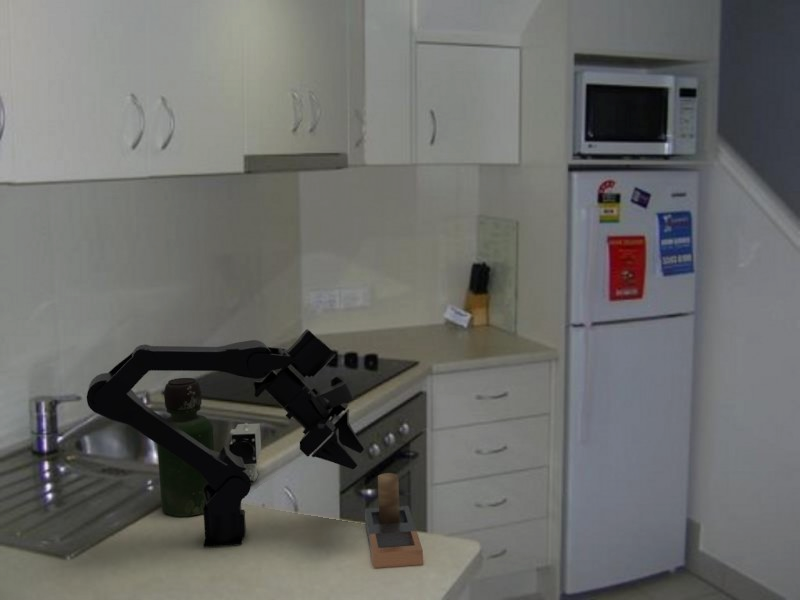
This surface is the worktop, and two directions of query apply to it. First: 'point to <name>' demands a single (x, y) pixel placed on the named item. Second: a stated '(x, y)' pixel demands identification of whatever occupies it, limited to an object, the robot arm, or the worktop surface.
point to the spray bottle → (176, 476)
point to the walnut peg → (388, 498)
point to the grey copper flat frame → (393, 540)
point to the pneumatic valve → (247, 446)
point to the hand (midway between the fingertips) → (359, 459)
